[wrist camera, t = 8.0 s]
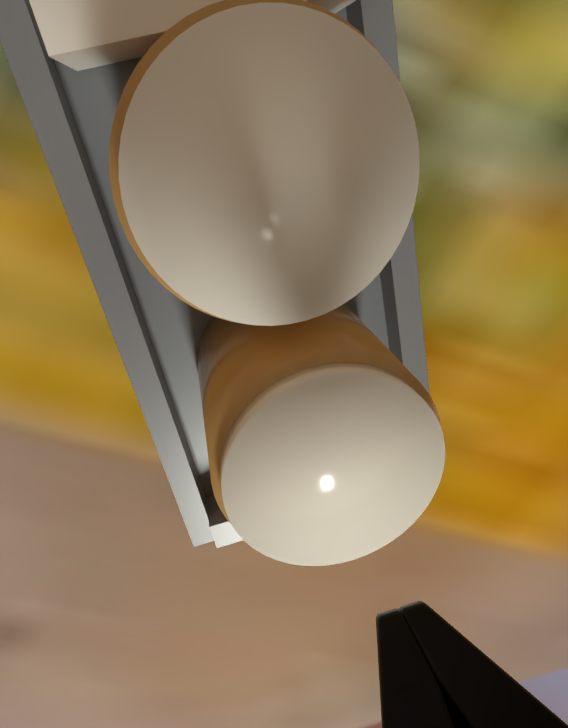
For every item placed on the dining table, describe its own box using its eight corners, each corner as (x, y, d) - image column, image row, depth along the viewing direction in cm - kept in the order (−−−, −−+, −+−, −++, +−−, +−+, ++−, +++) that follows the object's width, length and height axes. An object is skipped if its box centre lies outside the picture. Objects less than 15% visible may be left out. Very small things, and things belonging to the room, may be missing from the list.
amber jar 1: (309, 19, 14) (412, -52, 8) (344, 229, 17) (442, 291, 11) (99, 70, 14) (46, 33, 8) (168, 277, 16) (168, 370, 10)
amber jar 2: (348, 258, 17) (445, 334, 11) (371, 407, 19) (459, 532, 14) (175, 304, 16) (180, 407, 11) (221, 449, 19) (246, 599, 13)
